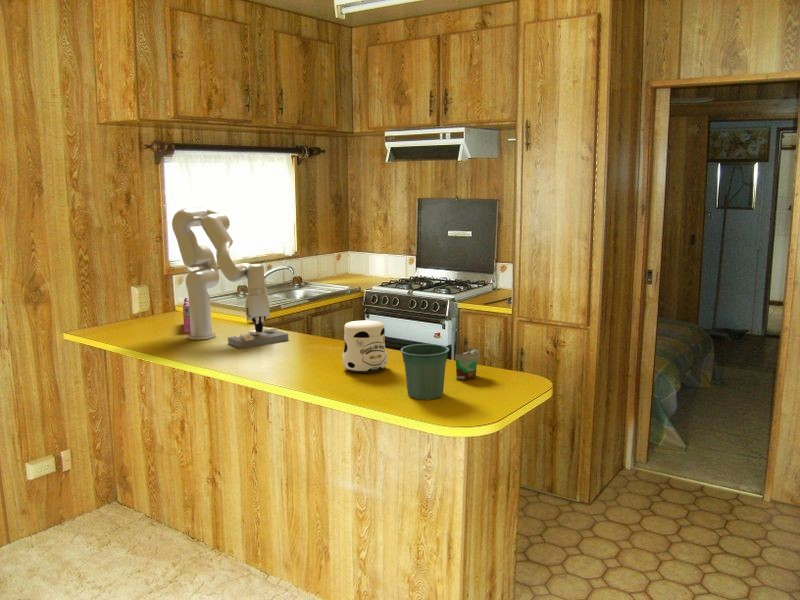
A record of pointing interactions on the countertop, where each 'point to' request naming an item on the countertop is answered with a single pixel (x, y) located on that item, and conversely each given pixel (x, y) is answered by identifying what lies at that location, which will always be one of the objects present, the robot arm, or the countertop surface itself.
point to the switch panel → (258, 339)
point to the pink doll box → (186, 316)
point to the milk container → (364, 346)
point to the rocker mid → (254, 332)
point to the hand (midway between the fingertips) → (259, 331)
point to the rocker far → (269, 329)
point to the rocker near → (246, 336)
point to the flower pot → (425, 370)
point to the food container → (466, 365)
